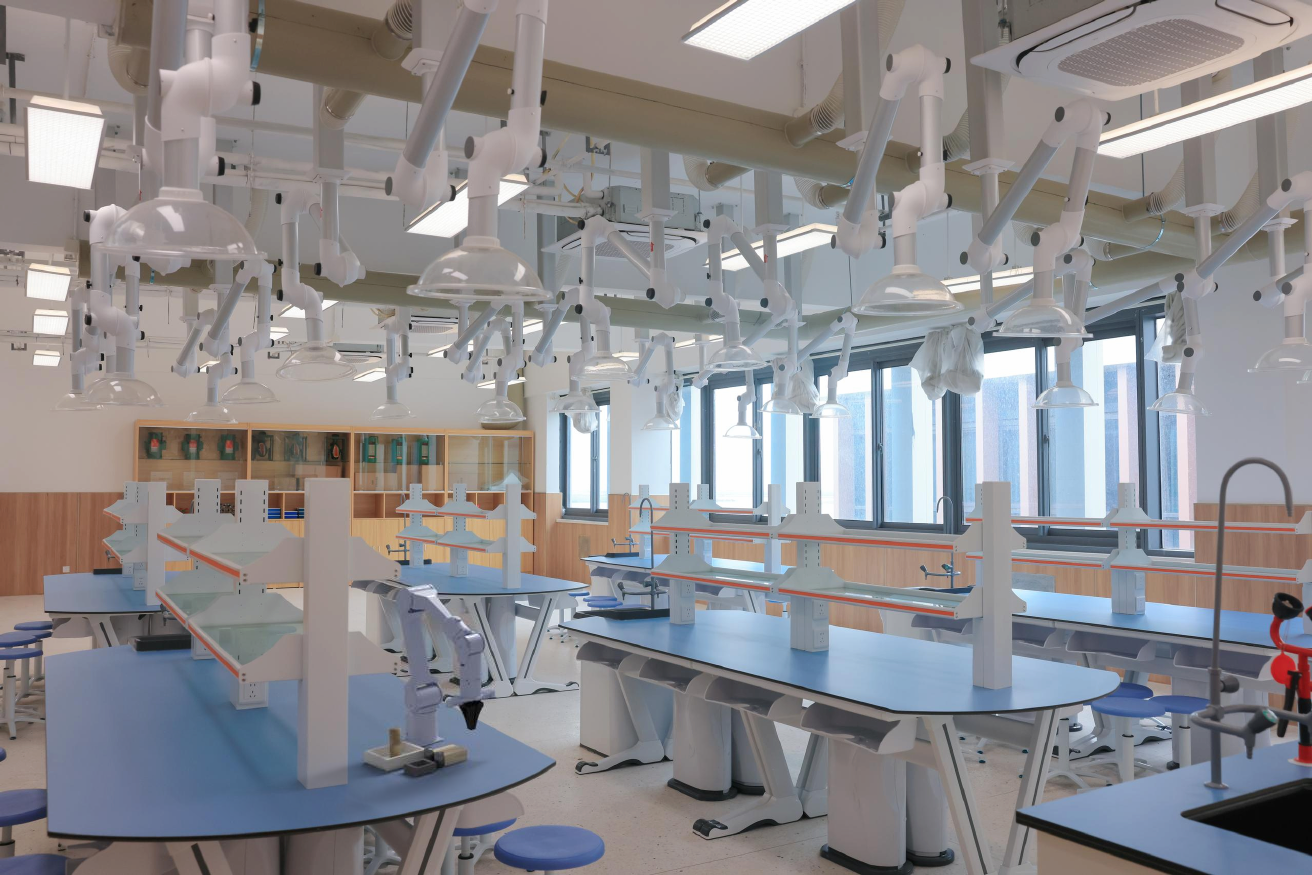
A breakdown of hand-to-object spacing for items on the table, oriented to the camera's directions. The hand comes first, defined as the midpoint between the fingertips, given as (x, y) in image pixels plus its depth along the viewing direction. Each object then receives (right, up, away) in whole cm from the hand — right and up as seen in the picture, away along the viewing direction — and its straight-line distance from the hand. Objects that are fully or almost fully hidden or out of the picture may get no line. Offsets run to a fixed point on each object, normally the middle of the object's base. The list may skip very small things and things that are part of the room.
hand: (471, 728), depth 257 cm
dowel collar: (-10, -7, -14) cm, 19 cm away
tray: (-19, -7, -5) cm, 21 cm away
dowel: (-19, -6, -5) cm, 21 cm away
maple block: (-5, -7, -5) cm, 10 cm away
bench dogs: (-8, -7, -9) cm, 14 cm away
